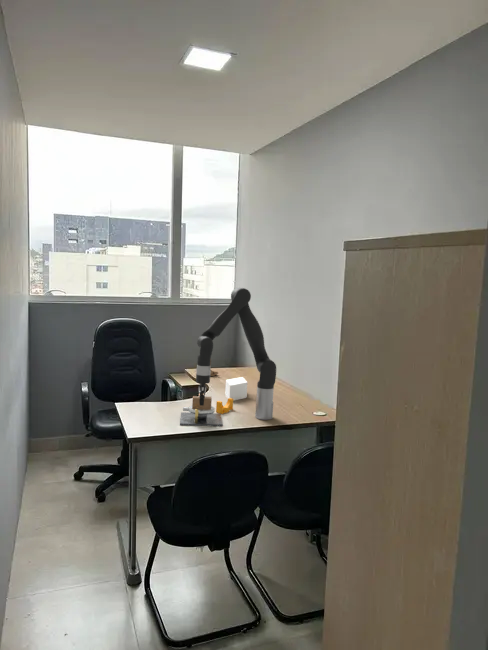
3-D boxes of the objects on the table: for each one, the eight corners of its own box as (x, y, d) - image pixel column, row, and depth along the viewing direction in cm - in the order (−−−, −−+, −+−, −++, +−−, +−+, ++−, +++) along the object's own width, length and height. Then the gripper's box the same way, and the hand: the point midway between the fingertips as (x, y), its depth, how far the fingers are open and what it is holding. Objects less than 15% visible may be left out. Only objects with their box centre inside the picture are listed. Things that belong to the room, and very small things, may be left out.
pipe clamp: (221, 414, 279) (222, 403, 279) (216, 412, 282) (216, 401, 281) (235, 410, 289) (235, 399, 288) (229, 408, 292) (229, 398, 291)
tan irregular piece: (193, 374, 380) (194, 355, 379) (202, 372, 391) (203, 353, 389) (210, 377, 373) (211, 358, 371) (218, 375, 383) (219, 356, 382)
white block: (252, 393, 333) (252, 378, 332) (240, 403, 306) (241, 386, 304) (231, 390, 337) (232, 375, 336) (218, 400, 309) (219, 384, 308)
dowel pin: (197, 422, 258) (198, 409, 257) (197, 423, 256) (198, 410, 256) (194, 422, 258) (195, 409, 257) (194, 423, 256) (195, 409, 256)
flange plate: (214, 407, 273) (214, 394, 272) (215, 415, 259) (215, 401, 258) (183, 406, 271) (184, 393, 270) (182, 414, 257) (183, 400, 256)
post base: (220, 415, 277) (221, 407, 276) (222, 426, 257) (222, 417, 256) (181, 414, 274) (181, 405, 274) (179, 425, 255) (180, 416, 254)
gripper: (210, 376, 256) (208, 407, 258) (210, 371, 270) (208, 400, 272) (196, 376, 256) (194, 406, 257) (196, 370, 270) (194, 399, 271)
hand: (201, 403), depth 265 cm, fingers open, 8 cm apart
